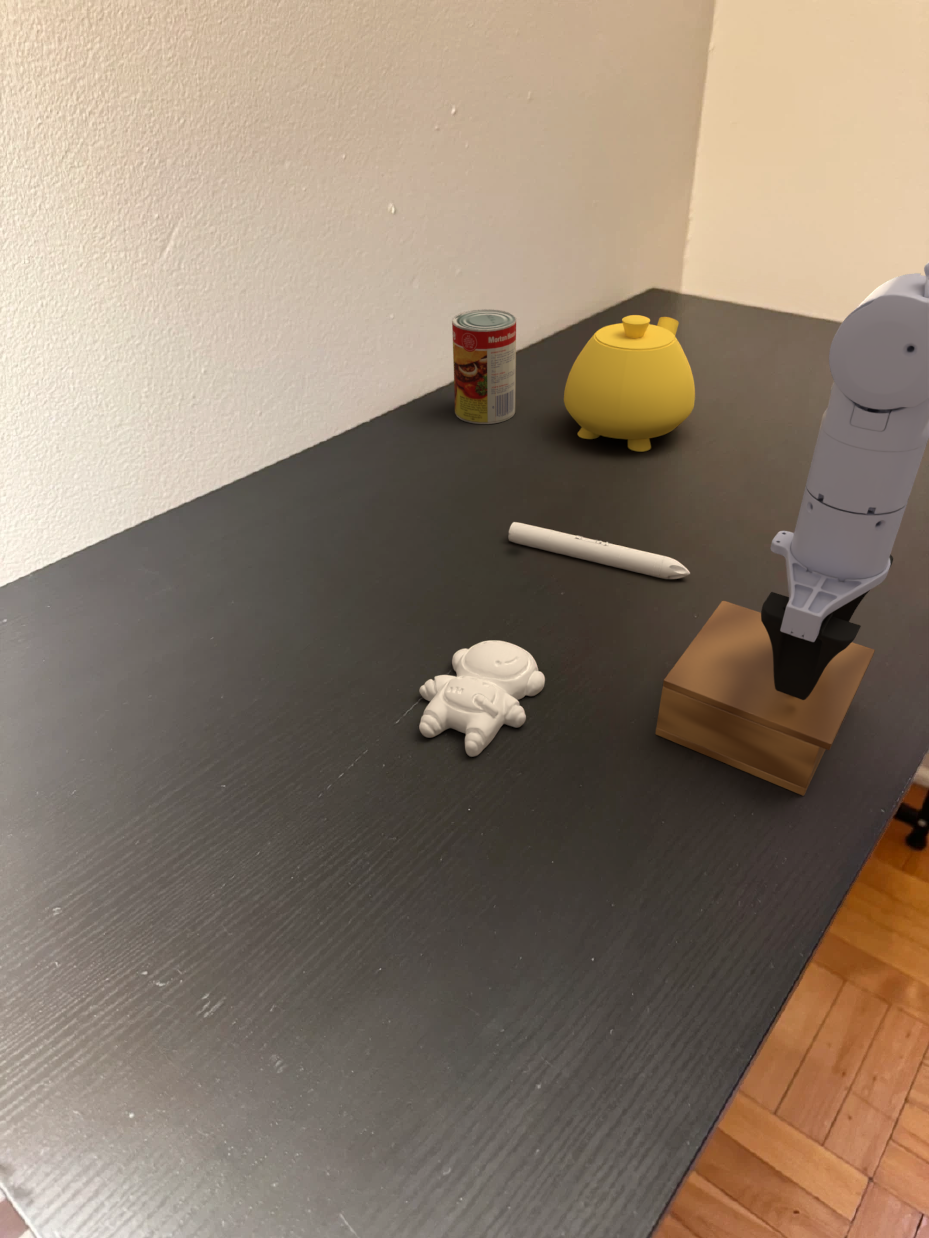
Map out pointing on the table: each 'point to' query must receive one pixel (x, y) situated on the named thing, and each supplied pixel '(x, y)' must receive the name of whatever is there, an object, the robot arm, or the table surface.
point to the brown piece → (764, 678)
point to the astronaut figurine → (481, 693)
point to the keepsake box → (738, 741)
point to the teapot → (631, 382)
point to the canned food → (484, 365)
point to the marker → (597, 551)
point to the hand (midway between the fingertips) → (806, 665)
